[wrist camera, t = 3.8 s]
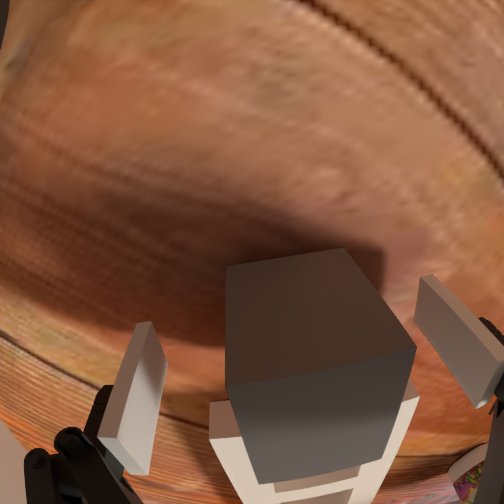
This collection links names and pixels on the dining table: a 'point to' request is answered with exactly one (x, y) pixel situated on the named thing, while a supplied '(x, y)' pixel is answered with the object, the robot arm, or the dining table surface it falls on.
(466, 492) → the milk bottle
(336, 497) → the socket plate
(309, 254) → the plug
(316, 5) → the dining table surface
